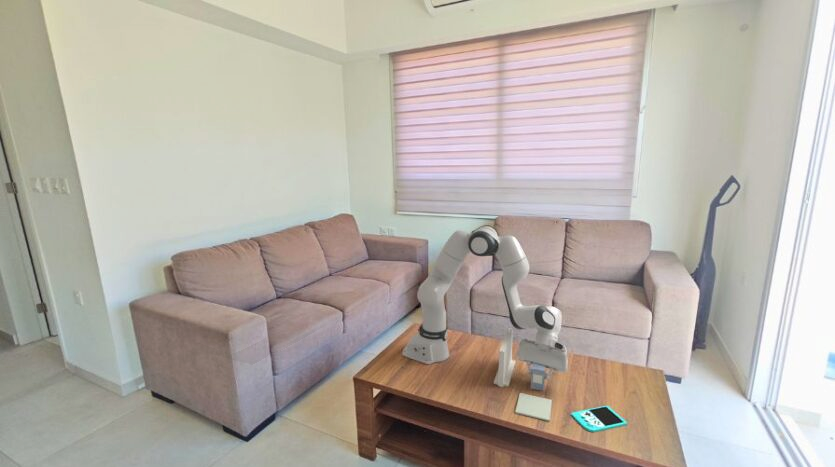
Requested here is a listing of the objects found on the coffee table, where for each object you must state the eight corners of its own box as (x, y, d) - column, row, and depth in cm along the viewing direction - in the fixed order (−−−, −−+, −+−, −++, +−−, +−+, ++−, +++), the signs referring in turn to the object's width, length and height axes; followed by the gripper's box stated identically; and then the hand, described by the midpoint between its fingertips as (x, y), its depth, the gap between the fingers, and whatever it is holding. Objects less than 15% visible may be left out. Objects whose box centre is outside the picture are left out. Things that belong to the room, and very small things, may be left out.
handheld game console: (570, 415, 138) (570, 411, 137) (606, 407, 142) (607, 404, 141) (588, 434, 128) (589, 431, 128) (627, 425, 132) (628, 422, 132)
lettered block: (530, 388, 153) (531, 368, 151) (531, 381, 157) (532, 362, 156) (543, 391, 151) (544, 371, 149) (544, 384, 155) (545, 364, 154)
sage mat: (515, 413, 138) (515, 411, 138) (519, 394, 149) (519, 392, 149) (549, 421, 134) (549, 420, 134) (551, 401, 145) (551, 399, 145)
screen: (493, 385, 155) (494, 349, 152) (502, 358, 175) (504, 327, 172) (507, 388, 153) (509, 352, 150) (515, 361, 173) (517, 329, 169)
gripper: (519, 335, 162) (511, 366, 156) (569, 347, 151) (562, 381, 145) (522, 340, 166) (514, 371, 160) (571, 352, 156) (564, 386, 150)
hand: (537, 376), depth 153 cm, fingers closed on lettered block, 5 cm apart
